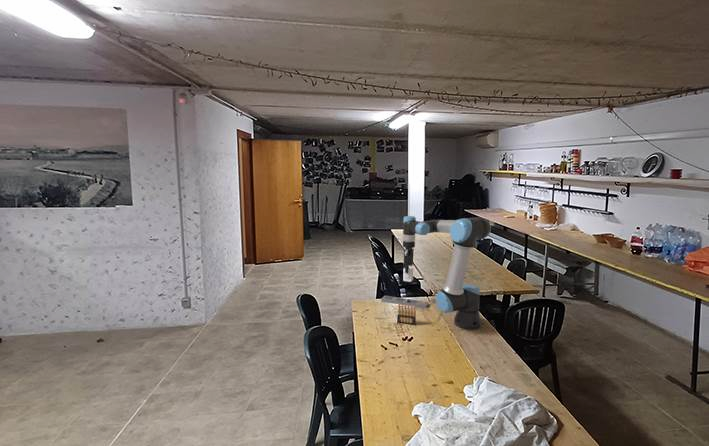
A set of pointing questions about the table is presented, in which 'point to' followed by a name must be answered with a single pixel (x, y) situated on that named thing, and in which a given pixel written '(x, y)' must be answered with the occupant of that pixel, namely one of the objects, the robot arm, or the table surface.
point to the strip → (405, 301)
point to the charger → (409, 275)
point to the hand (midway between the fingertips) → (408, 276)
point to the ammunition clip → (406, 315)
